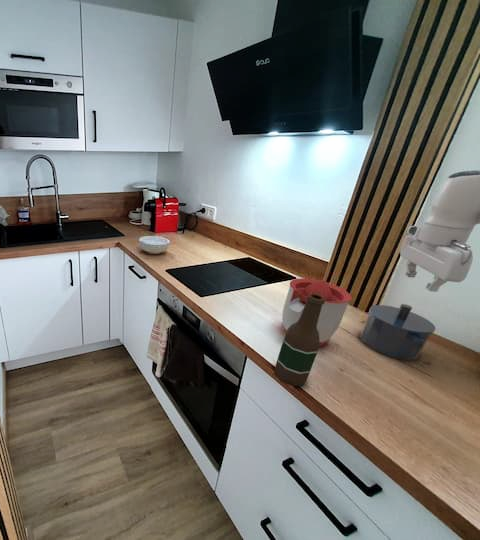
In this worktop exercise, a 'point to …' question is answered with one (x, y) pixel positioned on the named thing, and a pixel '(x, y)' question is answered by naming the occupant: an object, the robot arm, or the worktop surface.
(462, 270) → the robot arm
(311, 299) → the beer bottle
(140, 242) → the cereal bowl
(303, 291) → the citrus juicer
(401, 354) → the pot
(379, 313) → the pot lid
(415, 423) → the worktop surface
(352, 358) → the worktop surface
